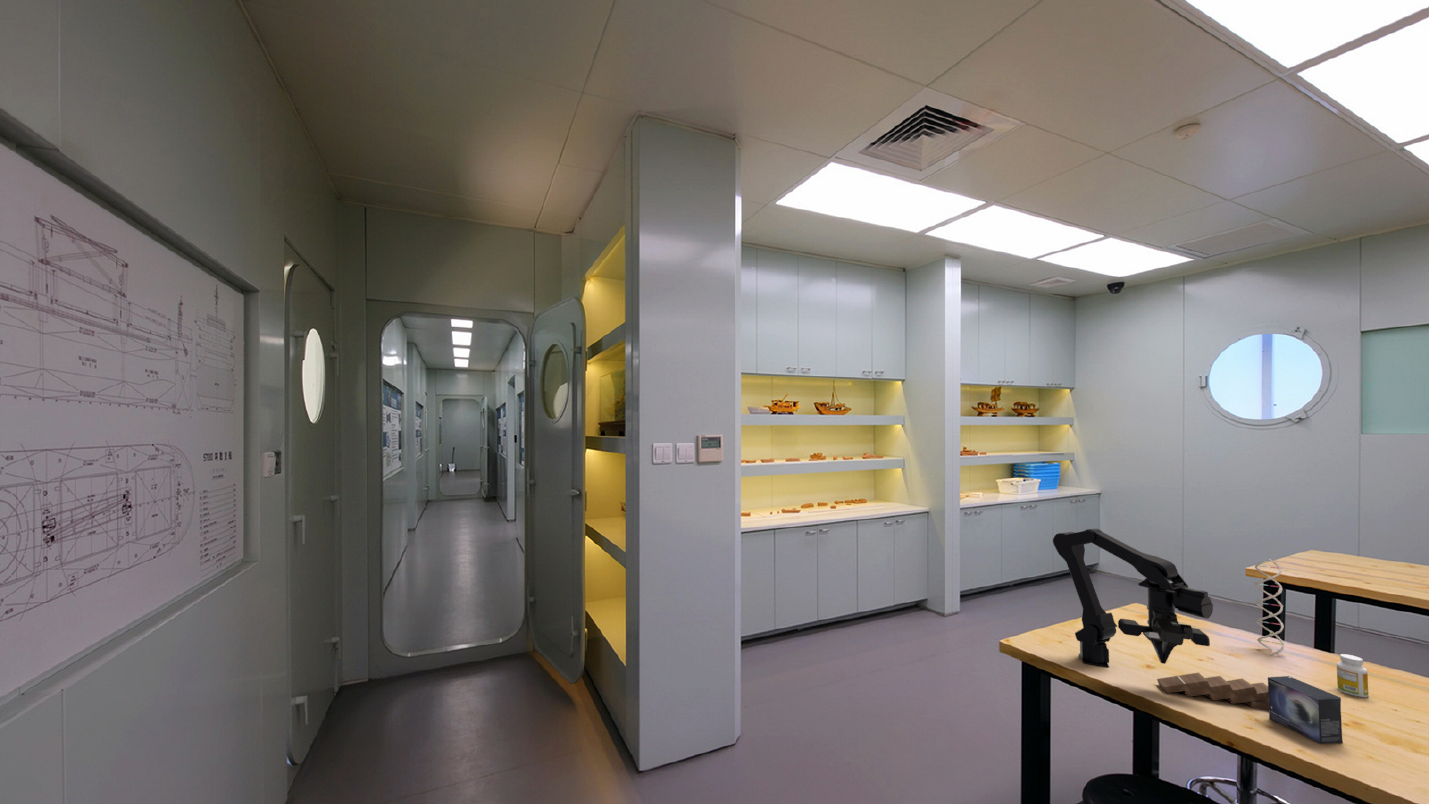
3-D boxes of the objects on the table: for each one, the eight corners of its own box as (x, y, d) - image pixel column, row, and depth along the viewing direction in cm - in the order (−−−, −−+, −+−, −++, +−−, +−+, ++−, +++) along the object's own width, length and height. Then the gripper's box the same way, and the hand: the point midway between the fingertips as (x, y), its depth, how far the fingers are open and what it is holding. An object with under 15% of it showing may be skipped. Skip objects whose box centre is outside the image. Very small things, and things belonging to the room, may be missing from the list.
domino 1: (1163, 687, 142) (1207, 680, 138) (1156, 678, 146) (1198, 672, 143) (1166, 693, 141) (1210, 686, 138) (1159, 684, 146) (1201, 678, 142)
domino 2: (1184, 690, 140) (1229, 684, 136) (1177, 682, 144) (1220, 675, 141) (1187, 696, 139) (1232, 690, 136) (1179, 688, 144) (1223, 681, 141)
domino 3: (1209, 694, 138) (1254, 686, 135) (1199, 685, 142) (1242, 678, 139) (1212, 700, 137) (1257, 693, 134) (1202, 691, 142) (1245, 684, 139)
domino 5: (1251, 701, 134) (1303, 710, 131) (1240, 692, 139) (1291, 700, 135) (1251, 708, 134) (1304, 716, 130) (1241, 698, 139) (1291, 707, 135)
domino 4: (1229, 697, 136) (1275, 691, 133) (1218, 688, 141) (1262, 682, 138) (1232, 703, 136) (1278, 697, 133) (1220, 695, 141) (1265, 688, 138)
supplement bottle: (1357, 689, 144) (1356, 654, 145) (1374, 699, 139) (1373, 662, 140) (1332, 686, 146) (1330, 651, 146) (1347, 695, 141) (1346, 659, 141)
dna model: (1284, 659, 163) (1281, 563, 165) (1255, 652, 168) (1252, 558, 170) (1286, 653, 167) (1283, 559, 169) (1258, 646, 172) (1254, 555, 174)
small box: (1266, 718, 129) (1265, 675, 130) (1290, 717, 130) (1288, 675, 130) (1319, 744, 119) (1317, 698, 119) (1344, 743, 119) (1342, 697, 120)
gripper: (1129, 610, 141) (1130, 668, 140) (1218, 621, 134) (1220, 683, 133) (1117, 598, 151) (1118, 652, 151) (1199, 607, 144) (1201, 665, 143)
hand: (1162, 663), depth 144 cm, fingers closed
